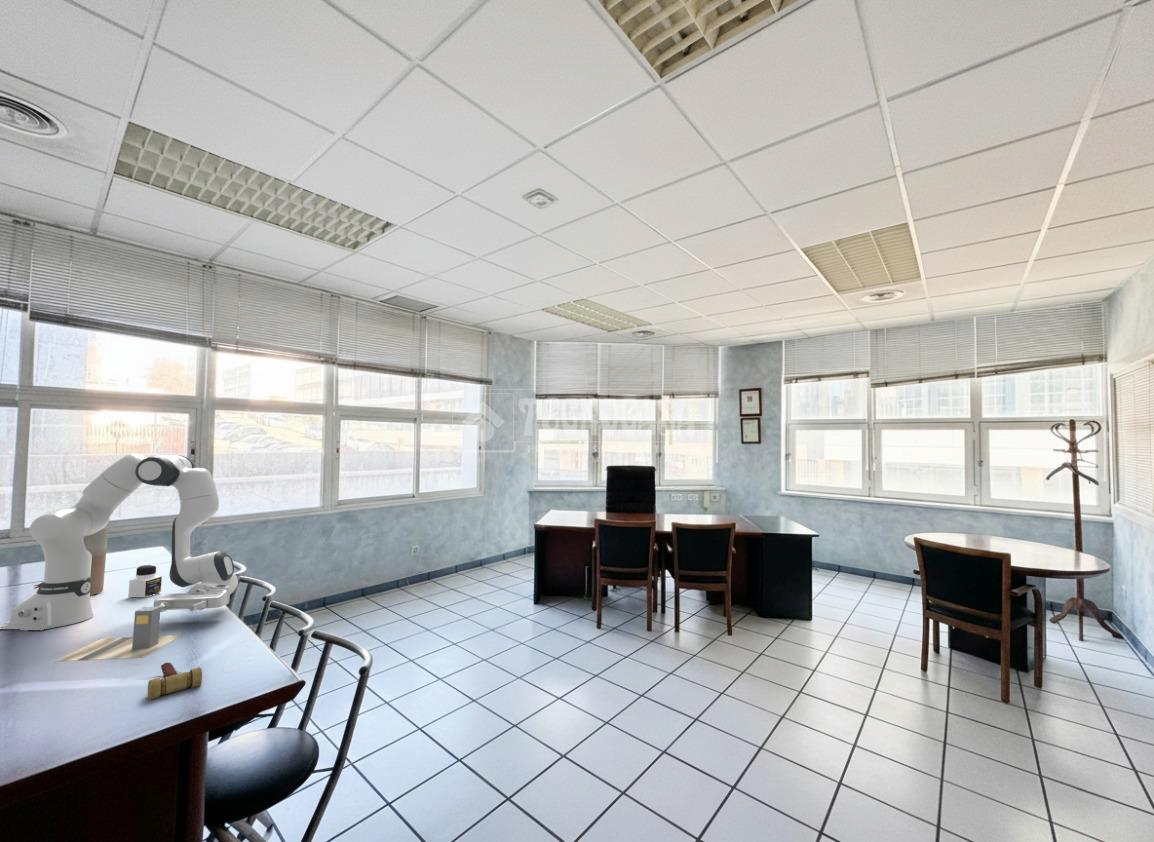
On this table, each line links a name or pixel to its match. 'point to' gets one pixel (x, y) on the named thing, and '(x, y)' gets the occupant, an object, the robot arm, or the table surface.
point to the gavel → (173, 681)
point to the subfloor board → (115, 649)
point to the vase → (97, 558)
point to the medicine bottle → (145, 582)
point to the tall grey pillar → (146, 627)
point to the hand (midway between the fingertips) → (176, 608)
